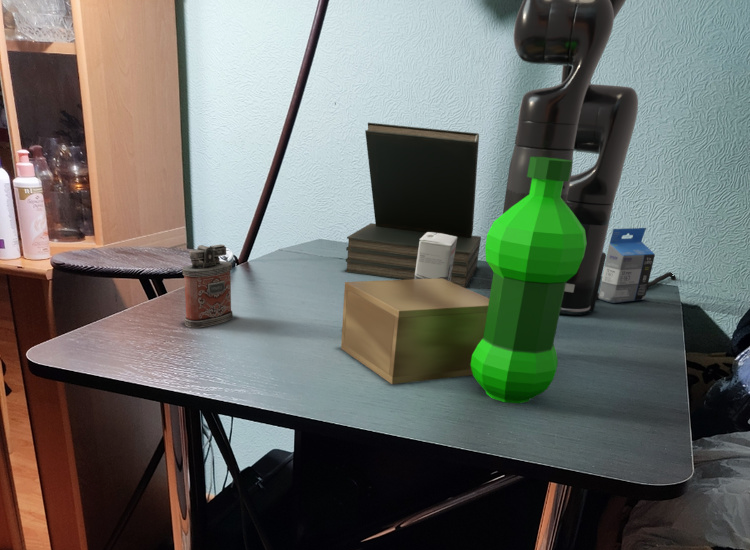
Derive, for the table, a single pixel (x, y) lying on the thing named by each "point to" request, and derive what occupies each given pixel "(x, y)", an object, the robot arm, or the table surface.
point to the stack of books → (417, 200)
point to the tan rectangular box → (413, 327)
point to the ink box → (435, 256)
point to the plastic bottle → (528, 286)
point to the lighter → (207, 287)
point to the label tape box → (626, 267)
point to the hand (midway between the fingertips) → (515, 326)
